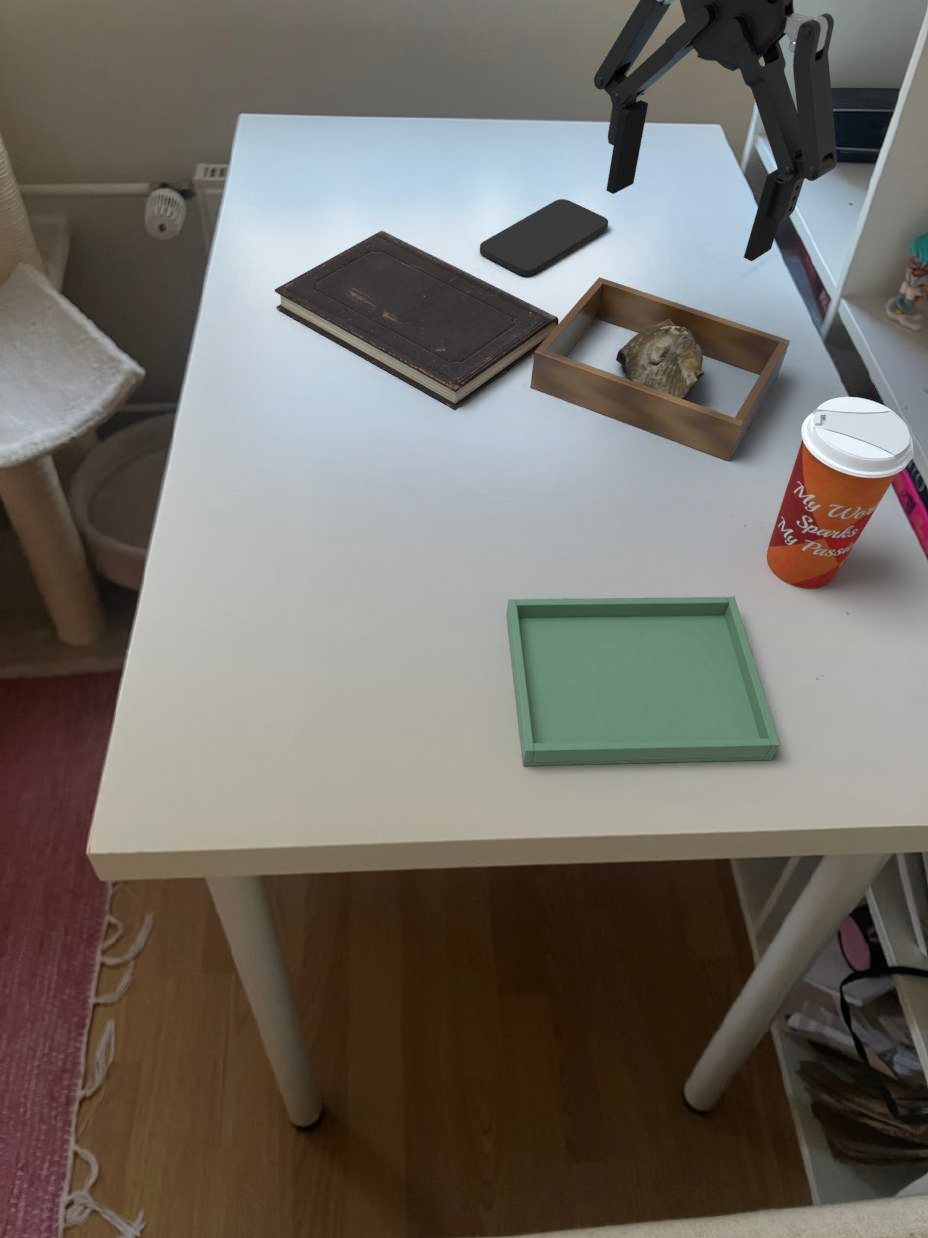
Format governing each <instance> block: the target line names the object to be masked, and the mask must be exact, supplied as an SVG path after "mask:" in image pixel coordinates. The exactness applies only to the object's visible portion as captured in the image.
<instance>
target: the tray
mask: <svg viewBox="0 0 928 1238" xmlns="http://www.w3.org/2000/svg"><path fill="white" fill-rule="evenodd" d="M505 616H506V627H507V633H508V643H509V645H508V646H509V652H510V653H509V654H510V662H511V671H512V679H513V680H512V681H513V690H514V696H515V698H514V699H515V707H516V717H517V724H518V734H519V735H518V736H519V743H520V752H521V762H522V763H521V764H522V767H530V766H531V767H532V766H534V767H535V766H537V767H538V766H567V765H568V766H573V765H576V766H577V765H607V764H608V765H612V764H613V765H615V764H616V765H617V764H656V763H657V764H659V763H661V764H662V763H698V762H699V763H701V762H737V761H738V762H739V761H740V762H741V761H772V760H773V759H774V757H775V755H776V753H777V751H778V749H779V748H780V745H781V744H780V741H779V738H778V734H777V731H776V727H775V725H774V722H773V718H772V714H771V712H770V708H769V705H768V701H767V698H766V695H765V691H764V688H763V685H762V681H761V678H760V675H759V672H758V669H757V665H756V662H755V659H754V656H753V652H752V649H751V646H750V643H749V639H748V636H747V632H746V628H745V626H744V623H743V619H742V616H741V613H740V609H739V606H738V603H737V600H736V597H735V596H701V597H700V596H697V597H696V596H693V597H692V596H691V597H687V596H685V597H684V596H683V597H607V598H606V597H605V598H604V597H603V598H602V597H601V598H599V597H598V598H521V599H520V598H517V599H516V598H515V599H508V600H507V607H506V615H505Z"/></svg>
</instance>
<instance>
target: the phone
mask: <svg viewBox="0 0 928 1238" xmlns="http://www.w3.org/2000/svg"><path fill="white" fill-rule="evenodd" d="M608 226H609V220H608V218H606V217H605V216H603V215H601V214H599V213H598V212H597V213H596V212H594V211H592V210H590V209H589V208H586V207H584V206H582V205H580V204H577V203H576V202H573V201H571V200H568V199H566V198H560V199H556V200H554V201H552V202H550V203H549V204H547V205H545V206H543V207H542V208H540V209H538V210H536V211H535V212H532V213H531V214H529V215H527V216H526V217H523V218H521V219H520V220H518V221H517V222H515V223H513V224H512V225H510V226H508V227H506V228H505V229H503V230H501V231H499V232H497V233H496V234H494V235H492V236H490V237H488V238H487V239H485V240H484V241H482V242H481V243H480V244H479V254H481V255H482V256H484V257H485V258H487V259H489V260H490V261H493V262H495V263H497V264H499V265H500V266H503V267H504V268H506V269H508V270H510V271H512V272H514V273H516V274H518V275H521V276H526V277H528V276H532V275H535V274H536V273H538V272H540V271H542V270H543V269H545V268H546V267H548V266H550V265H552V264H553V263H555V262H556V261H558V260H559V259H561V258H563V257H564V256H566V255H567V254H569V253H570V252H572V251H574V250H576V249H577V248H579V247H580V246H582V245H584V244H585V243H587V242H589V241H590V240H592V239H593V238H595V237H596V236H599V235H600V234H601V233H603V232H604V231H606V230H607V229H608Z"/></svg>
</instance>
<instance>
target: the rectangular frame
mask: <svg viewBox="0 0 928 1238" xmlns="http://www.w3.org/2000/svg"><path fill="white" fill-rule="evenodd" d="M597 319H598V320H600V321H604V322H607V323H609V324H612V325H615V326H618V327H621V328H624V329H626V330H630V331H633V332H636V333H637V334H638V333H639V332H640V331H642V330H644V329H645V328H647V327H650V326H653V325H657V324H659V323H661V322H664V321H665V320H667V319H670V320H671V321H672V323H673V324H674V325H675V326H679V327H684V328H686V329H688V330H689V331H690V332H691V333H692V334H693V336H694V339H695V342H696V343H697V344H698V345H699V346H700V348H701V350H702V355H703V356H706V357H708V358H711V359H714V360H717V361H720V362H723V363H726V364H728V365H732V366H735V367H737V368H741V369H743V370H746V371H748V372H752V373H754V374H758V378H757V380H755V383H754V385H753V386H752V388H751V389H750V391H749V393H748V395H747V396H746V397H745V399H744V402H743V403H742V404H741V406H740V408H739V410H738V411H737V413H736V415H735V416H731V415H727V414H725V413H723V412H721V411H717V410H714V409H712V408H708V407H705V406H704V405H700V404H697V403H695V402H692V401H689V400H686V399H681V398H678V397H675V396H672V395H670V394H667V393H664V392H661V391H658V390H656V389H653V388H650V387H647V386H645V385H642V384H639V383H636V382H633V381H631V380H629V378H625V377H622V376H620V375H616V374H614V373H612V372H608V371H606V370H603V369H600V368H598V367H594V366H592V365H589V364H587V363H583V362H580V361H578V360H576V359H572V358H569V357H567V355H568V354H569V353H570V351H571V350H572V349H573V348H574V347H575V345H576V344H578V342H579V341H580V339H581V338H582V337H583V336H584V335H585V334H586V332H587V331H588V330H589V329H590V328H591V326H592V325H593V324H594V322H596V320H597ZM790 343H791V340H789V339H787V338H784V337H781V336H778V335H775V334H772V333H769V332H765V331H763V330H760V329H757V328H754V327H751V326H748V325H746V324H745V325H744V324H742V323H739V322H736V321H733V320H730V319H727V318H724V317H722V316H721V317H720V316H718V315H715V314H712V313H709V312H705V311H702V310H699V309H697V308H693V307H690V306H687V305H684V304H681V303H678V302H676V301H673V300H669V299H667V298H663V297H661V296H657V295H655V294H652V293H648V292H645V291H642V290H639V289H637V288H634V287H630V286H628V285H624V284H622V283H618V282H615V281H612V280H609V279H607V278H603V277H601V276H600V277H598V278H597V279H596V280H595V281H594V283H593V284H592V285H591V286H590V287H589V288H588V290H587V291H585V293H584V294H583V295H582V296H581V298H580V299H579V300H578V301H577V302H576V303H575V304H574V306H573V307H572V308H571V309H570V310H569V311H568V313H567V314H566V315H565V316H564V317H563V318H562V319H561V321H560V322H558V325H557V326H556V327H555V329H554V330H553V331H552V332H551V333H550V334H549V336H548V337H547V338H546V339H545V340H544V341H543V342H542V344H541V345H540V346H539V347H538V348H537V349H536V350H535V351H534V352H533V353H534V355H533V362H532V370H531V379H530V386H529V387H530V388H532V389H533V390H537V391H539V392H542V393H545V394H547V395H550V396H553V397H556V398H558V399H560V400H564V401H567V402H568V403H572V404H574V405H577V406H580V407H582V408H584V409H587V410H591V411H593V412H596V413H599V414H601V415H604V416H607V417H609V418H611V419H615V420H617V421H620V422H622V423H626V424H628V425H630V426H633V427H636V428H639V429H642V430H644V431H647V432H649V433H652V434H655V435H657V436H660V437H662V438H666V439H668V440H671V441H672V442H677V443H679V444H682V445H685V446H687V447H689V448H692V449H695V450H698V451H700V452H703V453H705V454H707V455H708V454H709V455H711V456H714V457H715V458H720V459H722V460H725V461H726V462H729V461H730V460H731V458H732V456H733V455H734V453H735V451H736V450H737V448H738V446H739V445H740V443H741V441H742V439H743V437H744V435H745V434H746V432H747V431H748V429H749V427H750V425H751V424H752V422H753V420H754V417H755V416H756V415H757V413H758V411H759V410H760V407H762V405H763V402H764V401H765V399H766V397H767V395H768V394H769V392H770V390H771V389H772V387H773V385H774V383H775V382H776V380H777V378H778V377H779V374H780V371H781V369H782V366H783V363H784V360H785V357H786V355H787V351H788V349H789V345H790Z"/></svg>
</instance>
